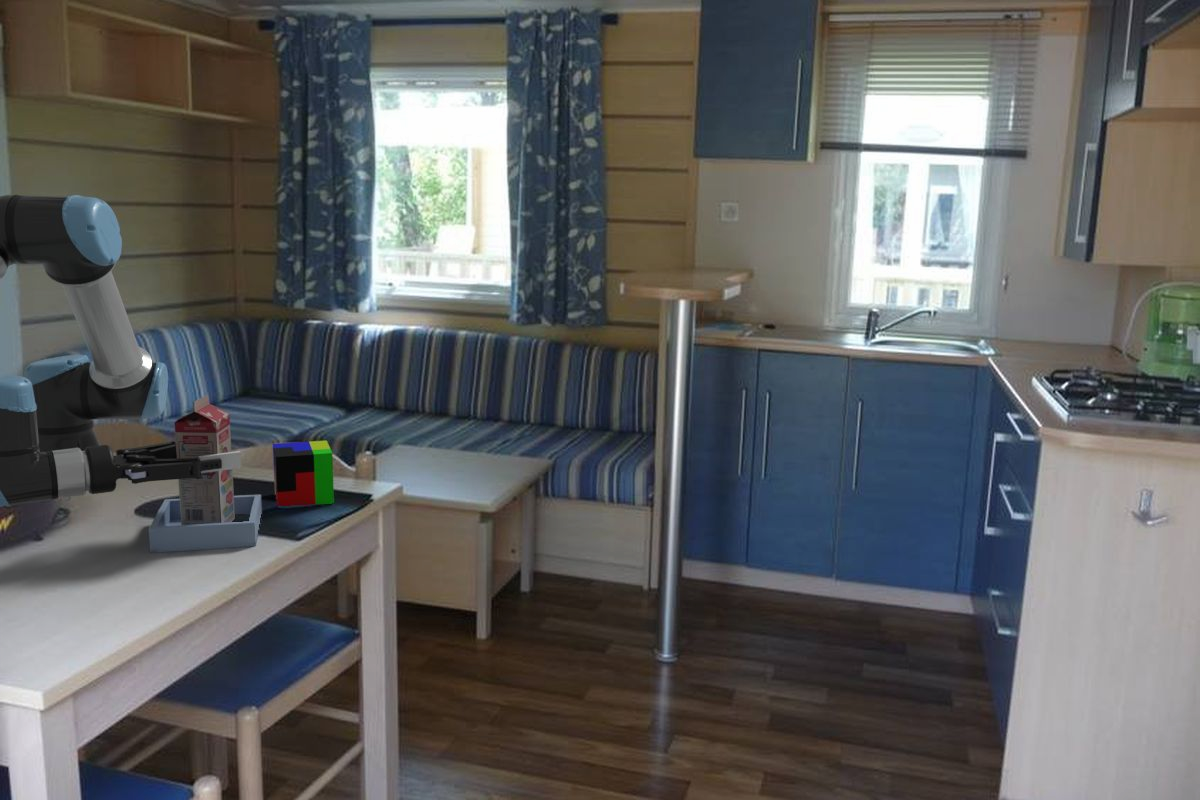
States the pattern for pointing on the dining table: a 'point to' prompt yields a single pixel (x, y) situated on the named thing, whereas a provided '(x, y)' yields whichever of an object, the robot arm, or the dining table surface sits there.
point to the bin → (204, 528)
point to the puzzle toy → (303, 473)
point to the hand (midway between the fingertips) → (232, 452)
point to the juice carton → (215, 489)
